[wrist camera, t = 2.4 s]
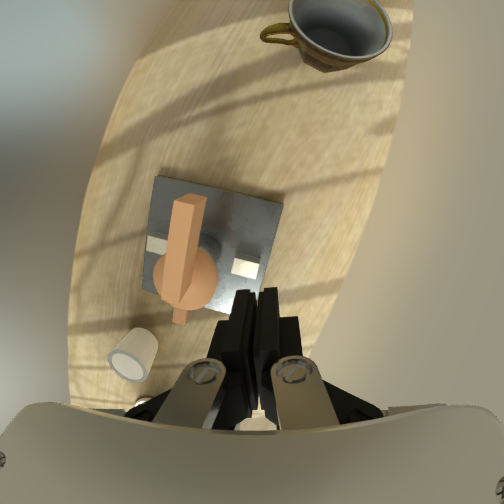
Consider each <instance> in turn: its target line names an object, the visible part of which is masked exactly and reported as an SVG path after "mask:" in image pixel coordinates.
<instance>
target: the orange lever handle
mask: <svg viewBox="0 0 504 504" xmlns="http://www.w3.org/2000/svg"><path fill="white" fill-rule="evenodd" d="M206 200H207V197H204V196H200V195H196V194H191V193H189V194H187V195H184V196H182V197H180V198H178V199H176V200H174V203H173V209H172V215H171V222H170V228H169V235H168V242H167V250H166V253H165V254H164V255H163V256H162V257H161V258H160V259H159V260H158V261H157V263H156V265H155V267H154V271H153V281H154V285H155V288H156V290H157V292H158V293H159V295H160V296H161V300H164V301H166V302H167V303H168V304H170V305H172V306H173V307H174V311H173V320H172V322H173V323H176V324H180V325H183V326H185V324H186V322H187V320H188V315H189V310H196V309H199V308H202V307H204V306H205V305H207V304H208V303H209V302H210V301H211V299H212V298H213V295H214V293H215V291H216V288H217V285H218V271H217V268H216V266H215V264H214V262H213V260H212V259H211V258H210V257H209V256H208V255H207V254H206V253H205V252H203V251H202V250H200V249H198V248H197V246H198V241H199V235H200V230H201V225H202V220H203V215H204V210H205V205H206Z"/></svg>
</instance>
